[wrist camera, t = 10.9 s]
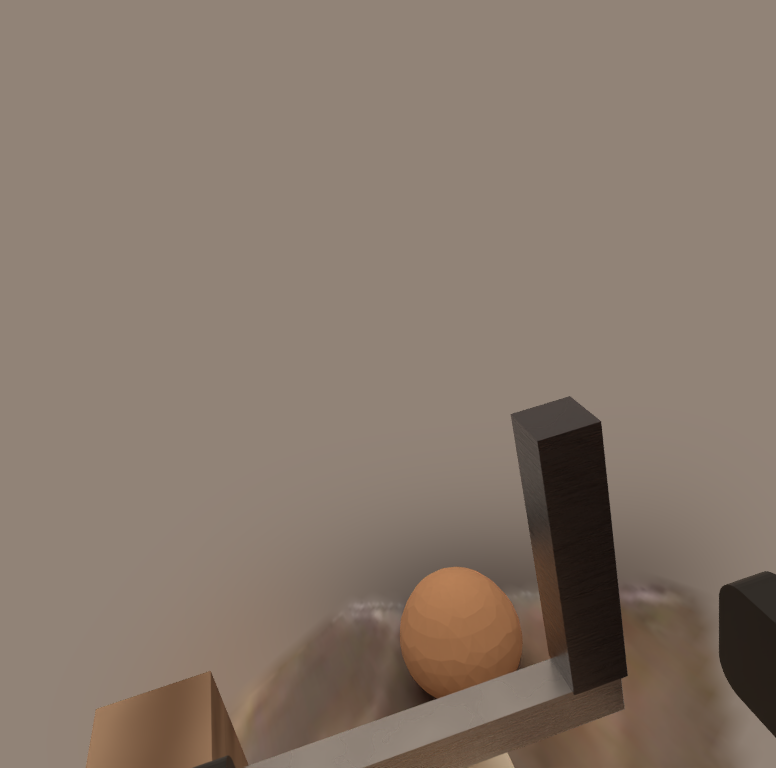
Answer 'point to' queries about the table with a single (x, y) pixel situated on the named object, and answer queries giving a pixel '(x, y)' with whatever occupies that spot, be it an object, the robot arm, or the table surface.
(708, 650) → the table surface
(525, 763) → the table surface
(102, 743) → the block
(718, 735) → the table surface
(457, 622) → the egg
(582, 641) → the gray l-shaped bracket
